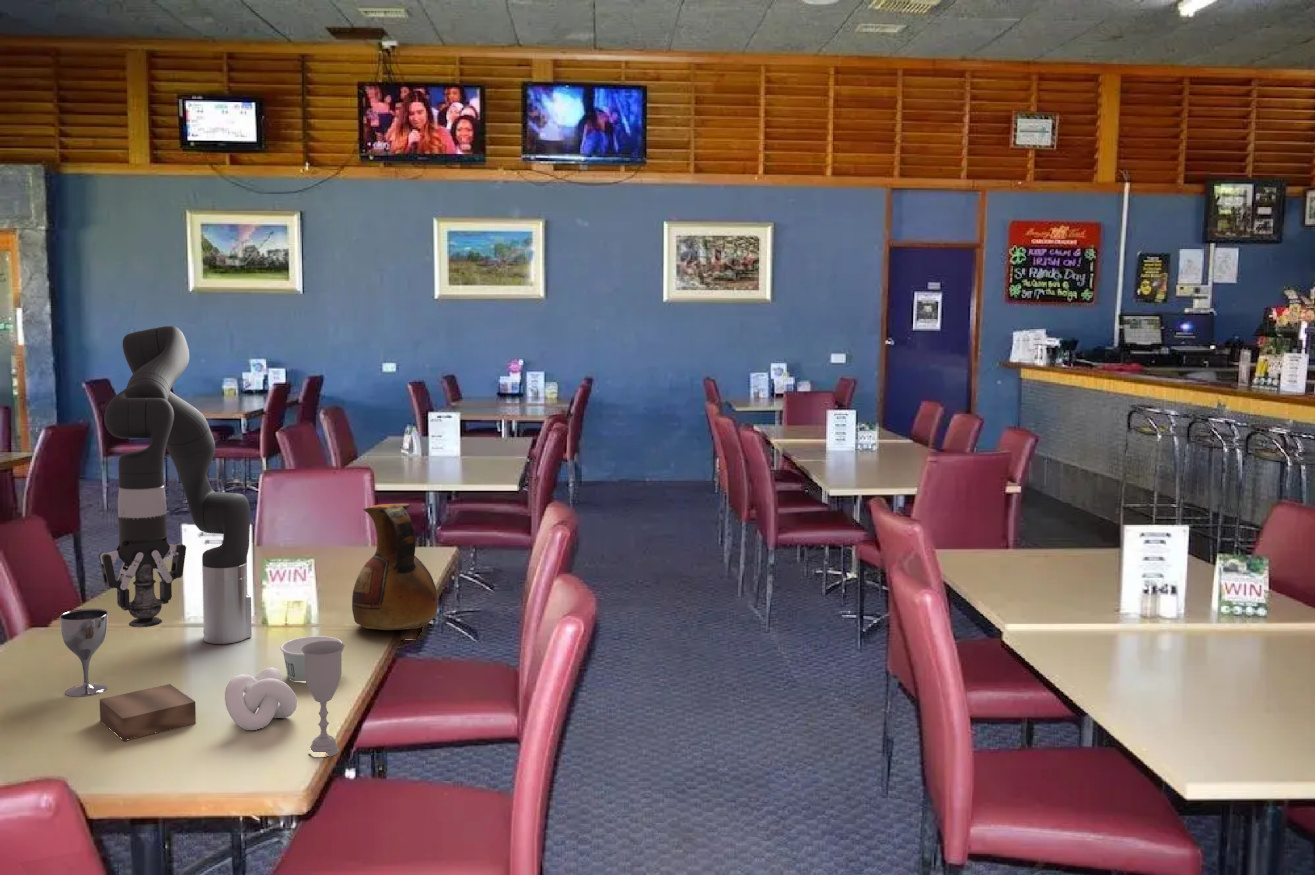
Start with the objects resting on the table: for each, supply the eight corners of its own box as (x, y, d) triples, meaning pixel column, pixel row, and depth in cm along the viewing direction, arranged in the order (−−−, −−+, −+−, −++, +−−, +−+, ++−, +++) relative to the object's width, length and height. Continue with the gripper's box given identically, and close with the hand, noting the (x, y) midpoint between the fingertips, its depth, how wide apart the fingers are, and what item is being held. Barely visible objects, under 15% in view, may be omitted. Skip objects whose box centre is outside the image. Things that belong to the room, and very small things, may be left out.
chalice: (308, 743, 174) (307, 640, 172) (349, 742, 175) (348, 640, 173) (297, 761, 167) (296, 654, 165) (339, 760, 168) (339, 654, 166)
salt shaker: (148, 629, 176) (147, 561, 175) (119, 626, 177) (117, 558, 176) (171, 619, 182) (169, 553, 180) (142, 617, 183) (140, 551, 182)
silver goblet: (61, 700, 190) (58, 622, 189) (63, 686, 198) (61, 611, 196) (109, 694, 194) (107, 617, 193) (110, 680, 201) (108, 606, 200)
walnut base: (170, 704, 190) (169, 684, 189) (195, 723, 181) (195, 701, 181) (100, 721, 181) (99, 699, 181) (123, 741, 173) (122, 718, 172)
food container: (354, 676, 208) (354, 645, 207) (298, 690, 199) (298, 658, 198) (324, 662, 216) (324, 632, 215) (269, 675, 207) (269, 644, 206)
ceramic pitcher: (411, 611, 255) (411, 493, 252) (453, 630, 240) (454, 505, 237) (337, 625, 242) (336, 501, 239) (377, 646, 227) (377, 514, 224)
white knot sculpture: (250, 742, 174) (250, 691, 173) (207, 726, 180) (206, 677, 180) (305, 721, 184) (304, 673, 183) (262, 707, 190) (261, 660, 189)
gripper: (177, 504, 185) (179, 595, 187) (90, 513, 175) (93, 609, 177) (193, 510, 180) (195, 603, 182) (104, 520, 170) (107, 618, 171)
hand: (144, 605), depth 179 cm, fingers closed on salt shaker, 6 cm apart
